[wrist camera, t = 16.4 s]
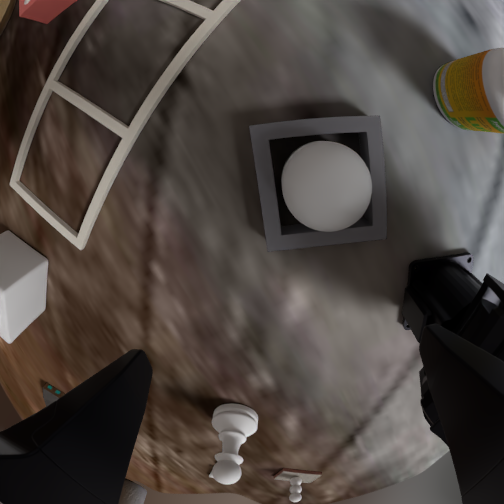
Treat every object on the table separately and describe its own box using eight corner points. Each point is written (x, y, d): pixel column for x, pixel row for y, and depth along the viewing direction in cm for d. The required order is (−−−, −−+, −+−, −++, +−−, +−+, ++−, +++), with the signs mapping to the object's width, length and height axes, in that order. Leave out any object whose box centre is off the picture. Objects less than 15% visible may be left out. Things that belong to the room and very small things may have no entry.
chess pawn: (205, 405, 29) (188, 473, 20) (247, 399, 27) (237, 472, 19) (226, 428, 30) (214, 491, 22) (265, 423, 29) (259, 490, 21)
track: (197, -92, 9) (196, -96, 9) (307, -58, 11) (308, -62, 11) (13, 183, 20) (9, 184, 20) (84, 247, 22) (80, 250, 22)
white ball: (354, 138, 17) (381, 139, 12) (360, 214, 19) (385, 239, 14) (276, 144, 18) (275, 147, 13) (286, 221, 20) (288, 250, 15)
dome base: (370, 117, 17) (379, 115, 15) (377, 229, 20) (386, 238, 18) (251, 127, 18) (248, 125, 16) (268, 241, 21) (267, 251, 19)
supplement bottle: (436, 129, 16) (529, 137, 7) (424, 59, 14) (507, 28, 5) (486, 131, 16) (574, 145, 7) (475, 67, 14) (559, 54, 5)
